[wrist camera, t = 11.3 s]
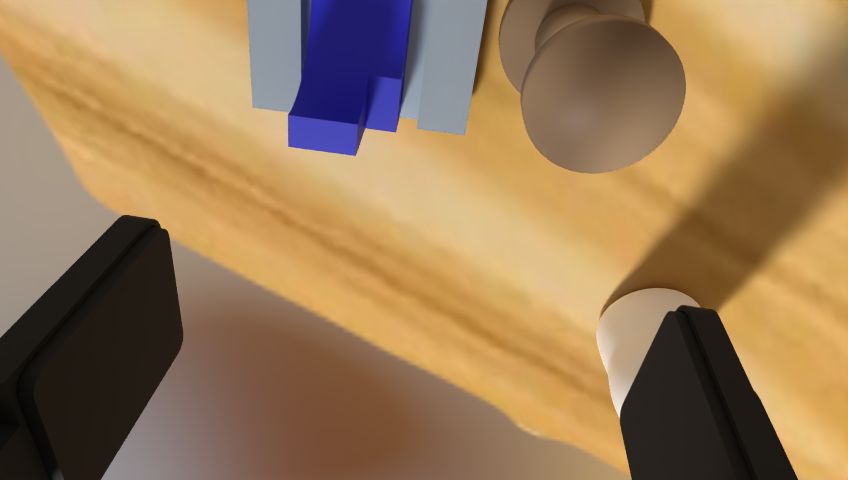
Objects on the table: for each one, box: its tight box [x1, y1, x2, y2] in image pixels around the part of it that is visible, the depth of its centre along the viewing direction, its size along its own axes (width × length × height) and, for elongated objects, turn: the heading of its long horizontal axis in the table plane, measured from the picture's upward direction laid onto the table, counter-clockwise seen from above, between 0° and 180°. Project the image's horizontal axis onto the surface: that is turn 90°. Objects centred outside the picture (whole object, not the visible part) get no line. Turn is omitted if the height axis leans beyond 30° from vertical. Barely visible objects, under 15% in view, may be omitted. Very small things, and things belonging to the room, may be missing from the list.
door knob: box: [499, 0, 686, 173], centre depth 26 cm, size 7×7×9 cm
